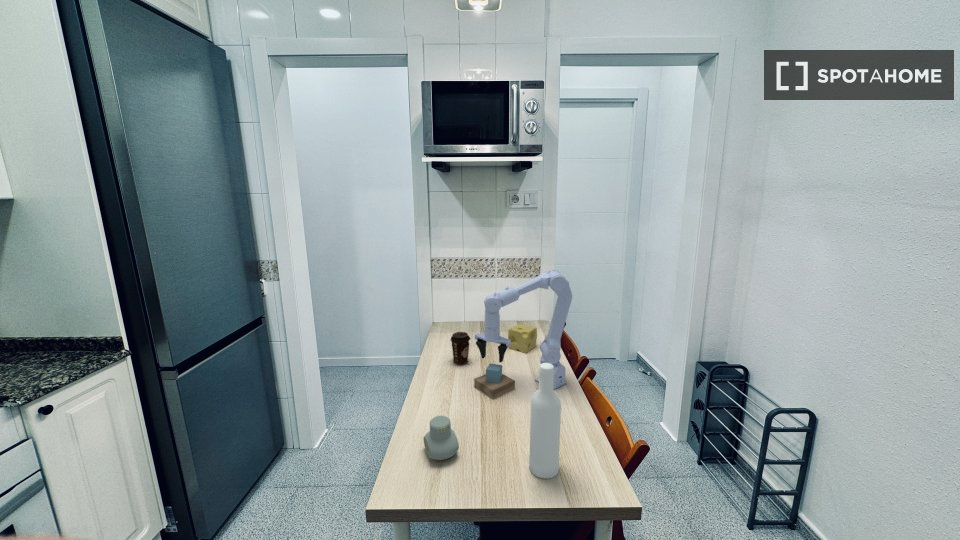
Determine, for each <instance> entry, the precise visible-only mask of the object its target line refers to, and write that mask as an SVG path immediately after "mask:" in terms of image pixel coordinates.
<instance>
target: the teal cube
mask: <svg viewBox="0 0 960 540" xmlns="http://www.w3.org/2000/svg"><path fill="white" fill-rule="evenodd" d="M485 374H486V382H492V383H499V382H500V380H501V378H502V374H503V365H502V364H496V363H489V364H488V365H487V367H486V368H485Z"/></svg>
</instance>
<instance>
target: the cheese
mask: <svg viewBox="0 0 960 540" xmlns="http://www.w3.org/2000/svg"><path fill="white" fill-rule="evenodd" d="M537 338H538V330H537V327H536V326H529V325H525V324H521V323H518V324H516V325H514V326H513V327H511V328H508V331H507V339H509V340H511V344H510V345H509V346H508V348H507V349H509V350H513V351H519V352H520V353H523V354H527V353H528V352H530V351H531V350H533V349H534V348H536V345H537V341H538V340H537Z"/></svg>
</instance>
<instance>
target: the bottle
mask: <svg viewBox="0 0 960 540" xmlns="http://www.w3.org/2000/svg"><path fill="white" fill-rule="evenodd" d="M538 372H539V373H538V375H539V376H538V378H539V382H538V389H537V390H536V391H535V390H534V392H533V393H532V397H531V399H530V416H529V417H530V420H529V421H530V424H529V425H530V427H529V428H530V429H529V457H528V458H529V459H528V461H529V462H528V464H529V470H530V472H531V473H532V474H533V475H534V476H535V477H537V478H540V479H545V480H546V479H552V478H555V477H556V476H557V475H558V472H559V471H560V470H559V469H560V468H559V467H560V443H561V442H560V441H561V439H560V438H561V437H560V436H561V417H562V416H561V414H562V403H561V399H560V396H559V394H558V393H557V392H556V391H555V389H553V383H554V366H553V365H552V364H550V363H542V364H539V368H538Z"/></svg>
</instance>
